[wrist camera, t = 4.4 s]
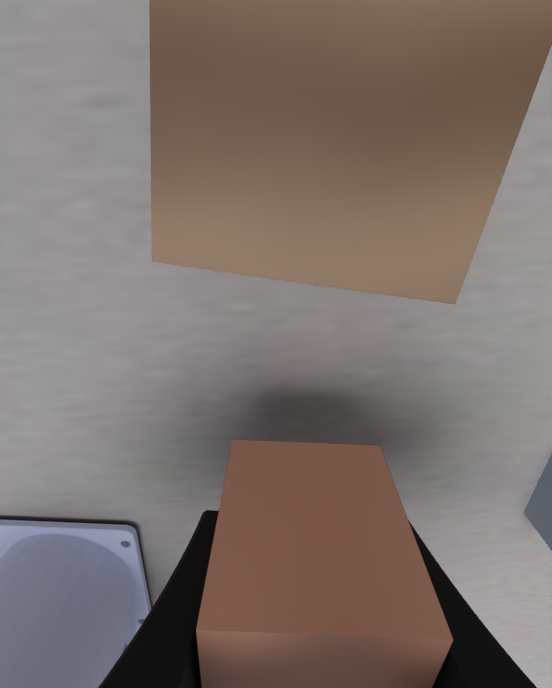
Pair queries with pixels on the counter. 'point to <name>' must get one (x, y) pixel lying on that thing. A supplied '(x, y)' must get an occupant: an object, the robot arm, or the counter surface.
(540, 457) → the counter surface
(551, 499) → the slate-grey block
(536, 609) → the counter surface
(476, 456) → the counter surface
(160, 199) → the walnut block
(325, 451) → the terracotta block
